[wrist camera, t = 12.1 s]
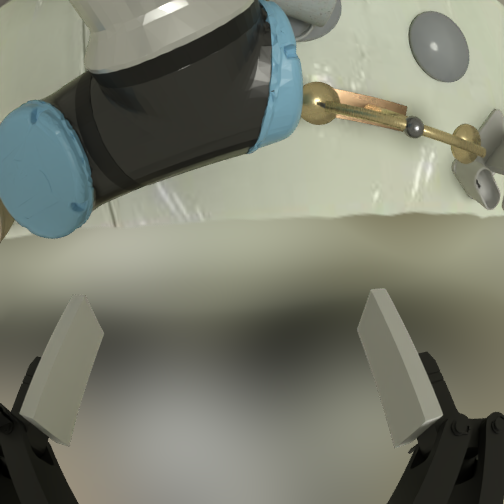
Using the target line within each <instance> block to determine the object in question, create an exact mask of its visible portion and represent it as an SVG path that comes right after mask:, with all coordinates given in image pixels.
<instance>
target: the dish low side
mask: <svg viewBox="0 0 504 504" xmlns="http://www.w3.org/2000/svg"><path fill="white" fill-rule="evenodd" d="M340 15H341V1H340V0H337V2H336V5H335V7H334V10H333V12H332V14H331V16H330V18H329V20H328V21H327V23H326V24H325V25H324V26H323V27H318V26H314V28H313V30H312V31H311V32H310V33H309V34H308V35H307V36H306V37H305V38H303V39H301V40H299V41H310V40H314V39H317V38H319V37H322V36H324V35H325V34H327V33H328V32H330V31H331V30H332V29H333V28H334V27H335V25H336V24H337V22H338V20H339V18H340ZM287 18H288V20H289V22H290V24H291V27H292V29H293V33H294V36H295V37H297V36H300V35H302V34H303V33H304V32H305V31H306V30H307V29H308V28H309V26H310V25H311V24H310V23H307V22H304V21H301V20H299V19H296V18H293V17H290V16H287Z"/></svg>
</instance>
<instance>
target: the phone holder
mask: <svg viewBox="0 0 504 504" xmlns="http://www.w3.org/2000/svg"><path fill="white" fill-rule="evenodd" d="M478 132H479V135H480V138H481V147H484V148H485V149H486V156H485V157H484V158H482V157H480V156H477V158H476V159H475V160H474V161H473V162H472V163H469V164H463V163H461V162H459V161H458V160H456V159H455V160H454V161H453V163H452V171H453V173H454V174H455V176H456V177H457V179H458V180H459V182H460V183H461V185H462V187H463V188H464V190H465V191H466V193H467V195H468V196H469V197H470V198H472V199H475V200H476V201H477V202H478V203H480V204H481V205H482V206H483V207H485V208H486V209H487V210H492V209H494V208H495V207H496V206H497V205H498V203H499V200H500V190H499V188H498V186H497V184H496V182H495V179H494V177H493V175H494V174H495V173H499V174H502V175H504V117H503V115H502V113H501V111H500V110H498V109H494V110H493V111H492V112H491V113H490V115H489V116H488V118H487V119H486V120H485V122H484V123H483V124H482V126H481V127H480V128H479V130H478ZM502 208H503V210H504V197H503V202H502Z"/></svg>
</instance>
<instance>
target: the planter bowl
mask: <svg viewBox="0 0 504 504" xmlns="http://www.w3.org/2000/svg"><path fill="white" fill-rule="evenodd" d="M13 222H14V218H13V217H12V216H11V214H10V213H9V212H8V210H7V209H6V207H5V206H4V204H3V202H2V200H1V198H0V243H1V241H2V240H3V238H4V237H5V236H6V234H7V233H8V231H9V230H10V228H11V226H12V224H13Z"/></svg>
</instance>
